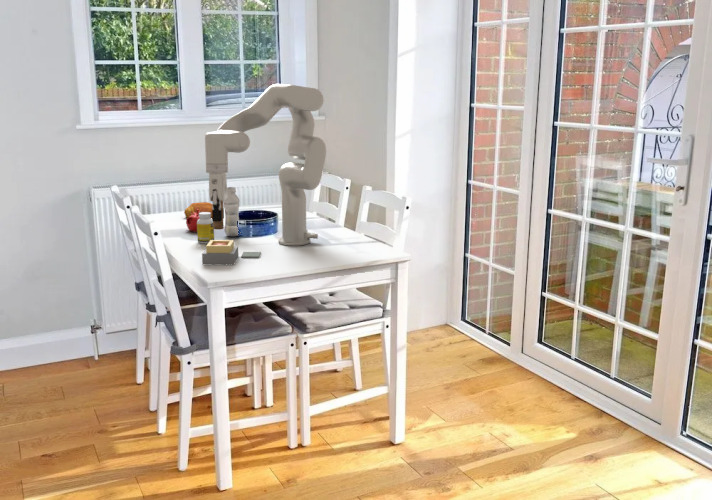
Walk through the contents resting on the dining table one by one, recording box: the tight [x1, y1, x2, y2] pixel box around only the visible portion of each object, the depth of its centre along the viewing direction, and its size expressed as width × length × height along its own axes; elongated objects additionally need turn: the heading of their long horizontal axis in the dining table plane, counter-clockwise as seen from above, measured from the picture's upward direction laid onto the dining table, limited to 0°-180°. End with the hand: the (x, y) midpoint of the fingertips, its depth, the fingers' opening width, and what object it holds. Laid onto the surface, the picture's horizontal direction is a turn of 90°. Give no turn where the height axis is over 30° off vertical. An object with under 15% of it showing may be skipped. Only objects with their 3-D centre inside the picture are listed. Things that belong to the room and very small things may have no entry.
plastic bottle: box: [223, 186, 240, 237], centre depth 288 cm, size 6×7×20 cm
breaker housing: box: [201, 239, 239, 266], centre depth 253 cm, size 11×11×6 cm
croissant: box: [183, 201, 212, 219], centre depth 324 cm, size 14×16×8 cm
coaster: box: [240, 251, 262, 259], centre depth 261 cm, size 6×6×1 cm
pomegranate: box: [185, 209, 200, 233], centre depth 299 cm, size 10×10×9 cm
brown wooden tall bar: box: [213, 189, 225, 231], centre depth 249 cm, size 4×4×15 cm
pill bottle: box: [196, 212, 215, 244], centre depth 279 cm, size 6×6×12 cm
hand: (218, 219), depth 250 cm, fingers closed on brown wooden tall bar, 3 cm apart
